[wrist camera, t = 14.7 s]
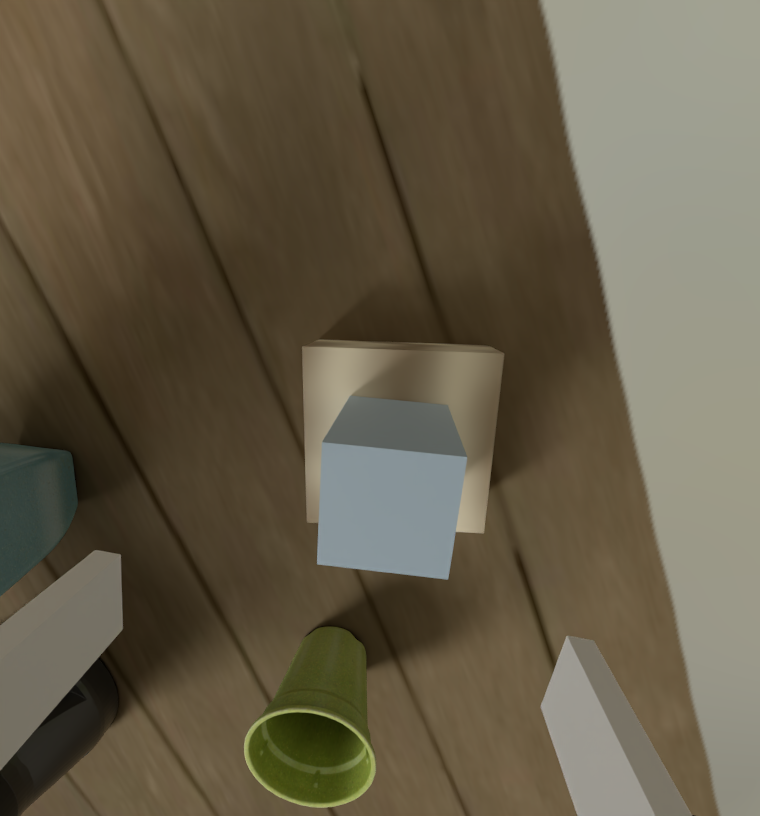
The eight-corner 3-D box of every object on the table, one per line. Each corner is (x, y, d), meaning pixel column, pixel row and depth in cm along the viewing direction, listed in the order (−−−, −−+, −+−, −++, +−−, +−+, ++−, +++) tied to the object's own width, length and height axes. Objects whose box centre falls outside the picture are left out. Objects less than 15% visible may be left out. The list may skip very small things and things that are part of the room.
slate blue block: (344, 483, 25) (316, 564, 17) (350, 395, 23) (321, 442, 16) (435, 493, 25) (448, 579, 17) (447, 405, 23) (467, 457, 15)
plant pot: (286, 688, 36) (250, 802, 28) (278, 606, 34) (236, 705, 26) (384, 693, 36) (376, 813, 27) (383, 611, 33) (374, 715, 25)
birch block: (322, 488, 31) (306, 522, 26) (320, 339, 28) (301, 346, 23) (471, 496, 30) (483, 533, 25) (486, 344, 27) (504, 353, 22)
